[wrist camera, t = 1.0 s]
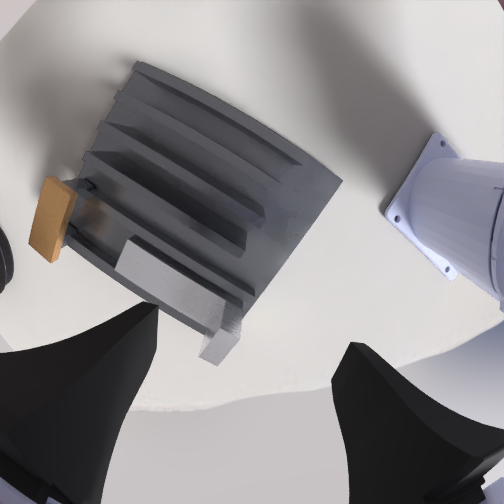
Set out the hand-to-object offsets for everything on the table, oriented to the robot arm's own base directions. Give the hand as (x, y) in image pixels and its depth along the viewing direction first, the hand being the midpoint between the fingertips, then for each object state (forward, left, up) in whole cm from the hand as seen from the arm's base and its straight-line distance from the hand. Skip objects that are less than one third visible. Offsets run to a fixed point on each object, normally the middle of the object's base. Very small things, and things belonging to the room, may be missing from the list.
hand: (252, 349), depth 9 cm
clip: (+3, +3, -8) cm, 9 cm away
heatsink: (+6, 0, -10) cm, 11 cm away
